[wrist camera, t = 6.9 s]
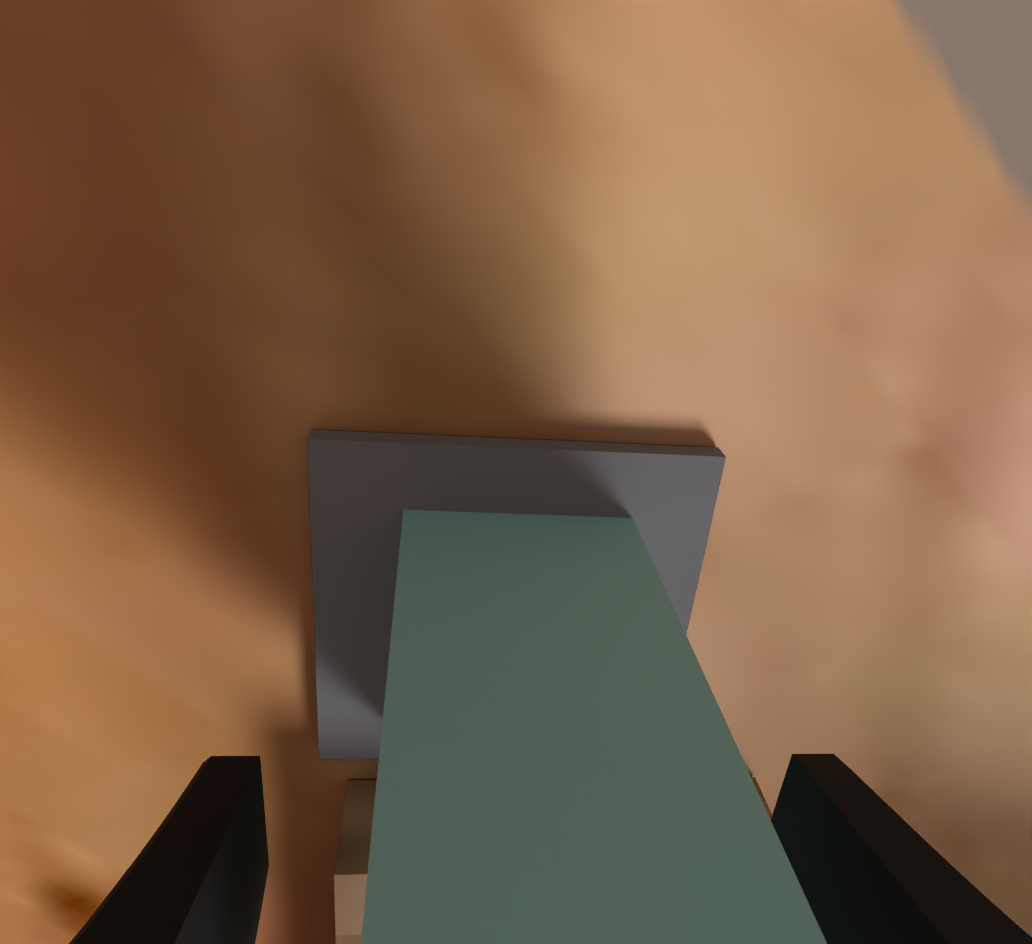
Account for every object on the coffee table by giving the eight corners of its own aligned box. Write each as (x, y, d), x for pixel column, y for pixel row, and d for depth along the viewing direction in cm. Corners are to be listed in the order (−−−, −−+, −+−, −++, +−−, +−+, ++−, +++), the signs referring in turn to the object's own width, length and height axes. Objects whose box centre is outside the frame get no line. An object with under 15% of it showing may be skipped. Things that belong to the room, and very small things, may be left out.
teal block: (396, 731, 15) (355, 1301, 8) (403, 509, 13) (353, 1014, 6) (594, 731, 16) (725, 1270, 8) (632, 517, 13) (850, 996, 6)
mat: (322, 745, 16) (319, 759, 15) (311, 429, 13) (307, 439, 12) (654, 744, 16) (658, 758, 16) (718, 447, 13) (725, 456, 13)
